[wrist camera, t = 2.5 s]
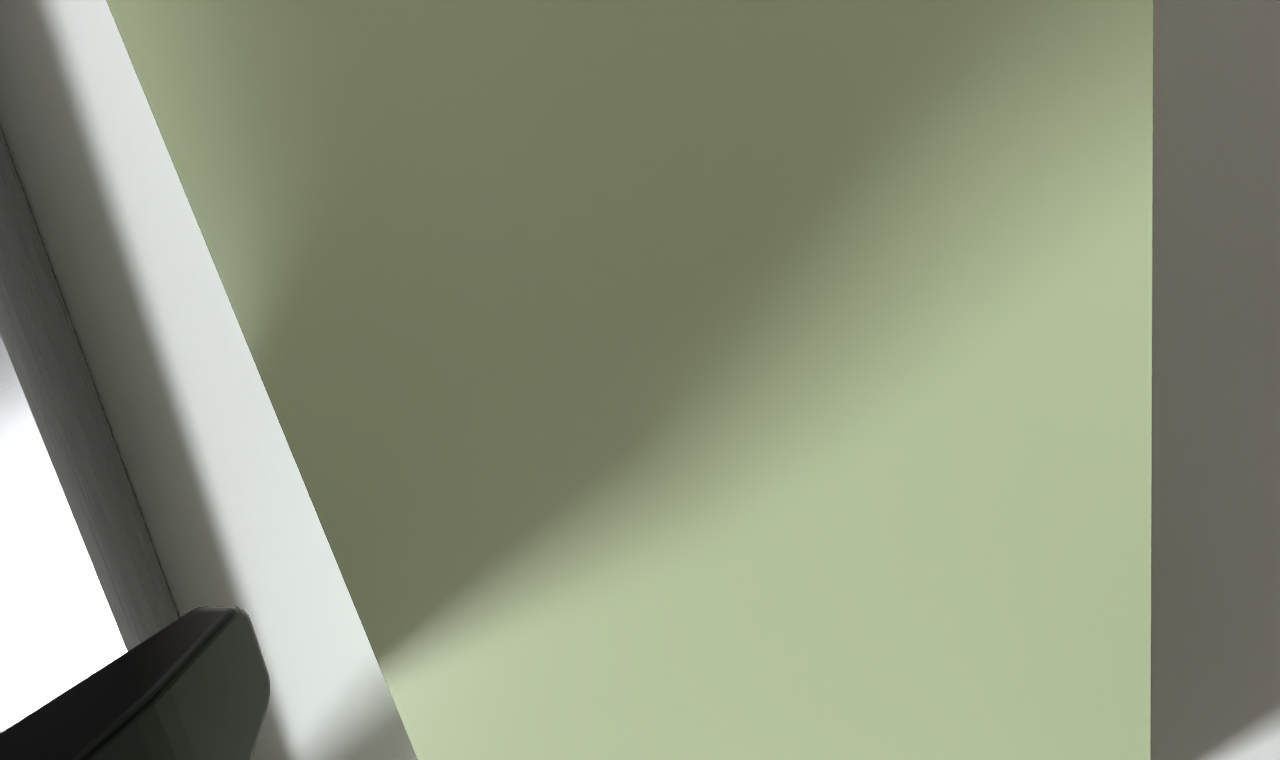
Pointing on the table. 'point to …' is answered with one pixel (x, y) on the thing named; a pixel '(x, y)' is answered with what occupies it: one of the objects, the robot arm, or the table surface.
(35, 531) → the chassis
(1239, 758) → the table surface
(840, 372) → the board
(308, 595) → the table surface
